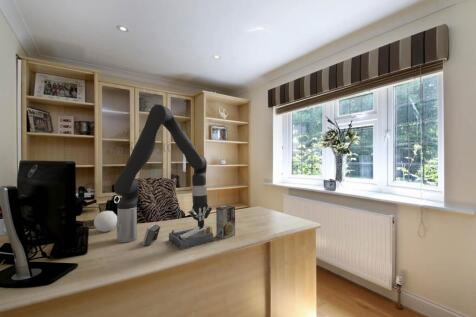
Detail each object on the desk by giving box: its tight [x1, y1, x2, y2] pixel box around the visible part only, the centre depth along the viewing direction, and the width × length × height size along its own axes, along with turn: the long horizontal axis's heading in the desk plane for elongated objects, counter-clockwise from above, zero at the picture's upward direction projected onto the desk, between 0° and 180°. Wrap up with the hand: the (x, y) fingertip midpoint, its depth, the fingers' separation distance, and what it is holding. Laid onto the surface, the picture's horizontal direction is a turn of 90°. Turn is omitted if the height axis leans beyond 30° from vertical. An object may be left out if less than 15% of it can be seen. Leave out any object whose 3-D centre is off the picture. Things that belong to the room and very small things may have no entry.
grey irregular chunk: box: [142, 222, 161, 246], centre depth 118 cm, size 9×5×9 cm, turn 176°
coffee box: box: [215, 204, 236, 240], centre depth 128 cm, size 9×6×16 cm
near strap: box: [180, 223, 209, 239], centre depth 116 cm, size 15×3×1 cm, turn 127°
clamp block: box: [168, 225, 214, 251], centre depth 120 cm, size 18×15×7 cm
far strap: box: [173, 225, 198, 234], centre depth 124 cm, size 15×3×1 cm, turn 127°
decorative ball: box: [93, 210, 118, 233], centre depth 136 cm, size 12×12×12 cm
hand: (201, 227), depth 118 cm, fingers closed
